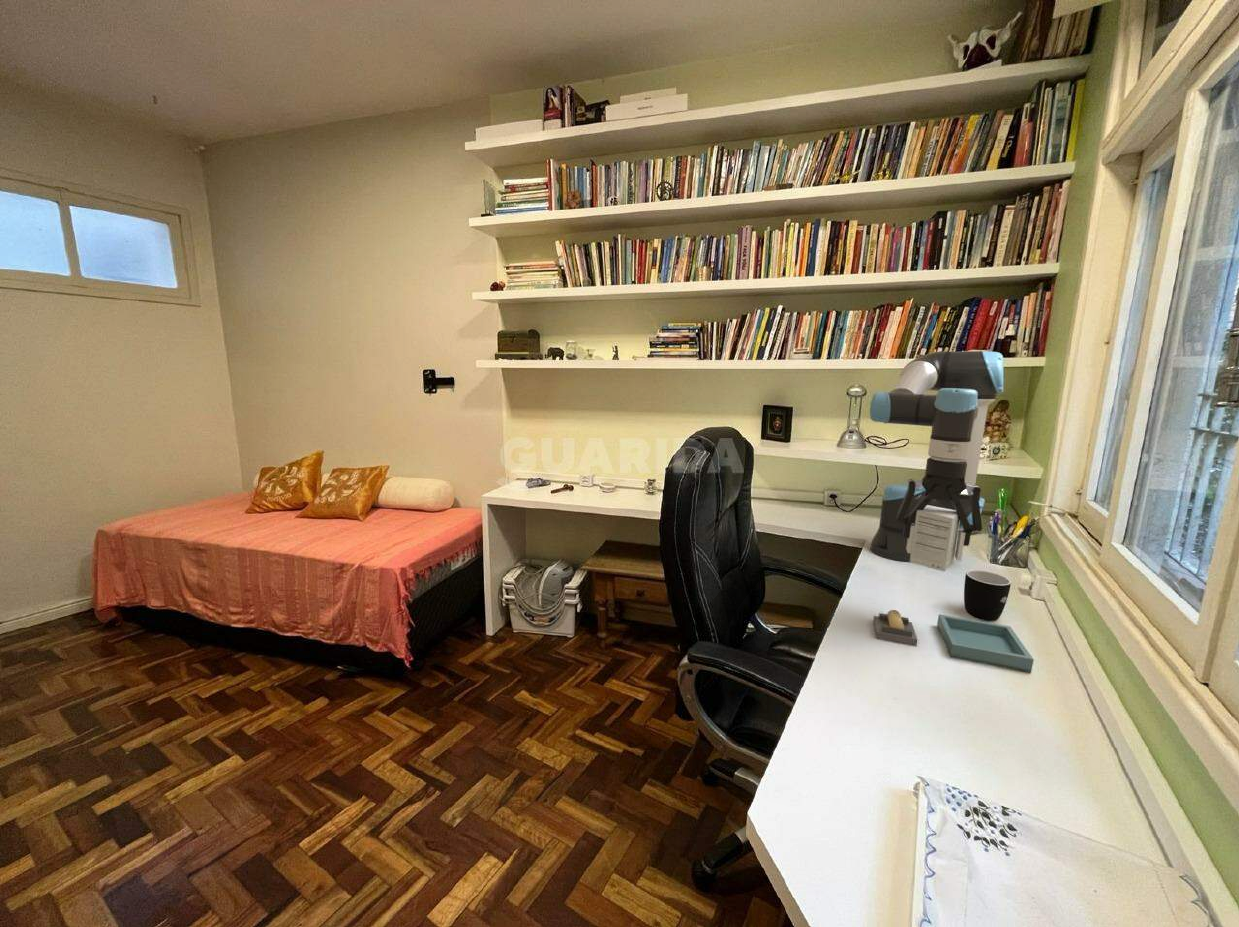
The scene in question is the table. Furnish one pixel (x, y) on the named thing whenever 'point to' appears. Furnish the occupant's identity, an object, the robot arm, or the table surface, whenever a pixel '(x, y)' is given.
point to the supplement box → (935, 537)
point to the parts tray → (984, 643)
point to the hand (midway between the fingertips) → (932, 554)
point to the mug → (985, 594)
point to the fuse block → (894, 628)
